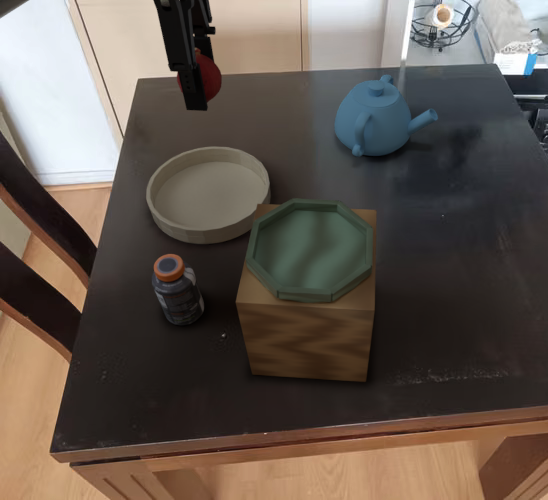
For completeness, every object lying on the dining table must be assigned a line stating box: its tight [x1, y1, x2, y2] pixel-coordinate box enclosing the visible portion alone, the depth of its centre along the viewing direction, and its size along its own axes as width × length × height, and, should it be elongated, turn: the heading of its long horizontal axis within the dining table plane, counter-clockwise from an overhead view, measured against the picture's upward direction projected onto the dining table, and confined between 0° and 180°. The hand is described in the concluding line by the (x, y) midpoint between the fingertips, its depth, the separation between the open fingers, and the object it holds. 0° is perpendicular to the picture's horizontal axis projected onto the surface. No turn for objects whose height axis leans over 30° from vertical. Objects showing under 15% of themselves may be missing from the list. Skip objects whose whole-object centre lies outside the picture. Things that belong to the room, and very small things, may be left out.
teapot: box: [333, 73, 439, 158], centre depth 104 cm, size 20×20×13 cm
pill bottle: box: [151, 253, 205, 326], centre depth 78 cm, size 6×6×11 cm
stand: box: [235, 197, 378, 383], centre depth 73 cm, size 16×16×20 cm
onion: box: [176, 48, 223, 104], centre depth 72 cm, size 6×6×8 cm
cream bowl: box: [145, 145, 272, 245], centre depth 96 cm, size 21×21×4 cm
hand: (202, 94), depth 74 cm, fingers closed on onion, 6 cm apart
